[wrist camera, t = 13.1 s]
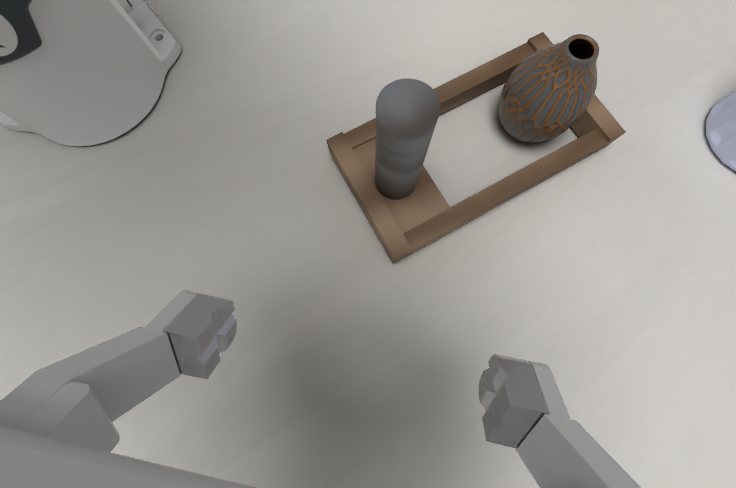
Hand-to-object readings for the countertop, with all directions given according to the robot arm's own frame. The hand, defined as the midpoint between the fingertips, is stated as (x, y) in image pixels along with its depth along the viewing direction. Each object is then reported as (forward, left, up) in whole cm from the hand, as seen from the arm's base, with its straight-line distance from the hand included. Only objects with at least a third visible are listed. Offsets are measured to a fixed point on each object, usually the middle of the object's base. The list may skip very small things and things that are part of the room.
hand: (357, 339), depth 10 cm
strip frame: (-10, +16, -17) cm, 25 cm away
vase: (-9, +23, -18) cm, 30 cm away
